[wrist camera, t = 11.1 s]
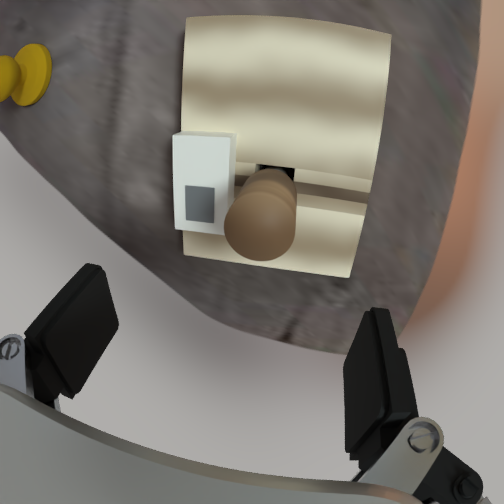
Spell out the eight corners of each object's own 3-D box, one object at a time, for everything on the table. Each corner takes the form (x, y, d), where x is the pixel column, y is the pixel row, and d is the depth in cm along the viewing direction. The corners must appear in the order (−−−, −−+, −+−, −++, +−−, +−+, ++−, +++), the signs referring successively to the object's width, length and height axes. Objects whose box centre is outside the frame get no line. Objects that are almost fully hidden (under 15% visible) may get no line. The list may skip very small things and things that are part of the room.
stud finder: (183, 130, 24) (172, 135, 21) (237, 133, 23) (229, 138, 21) (184, 217, 28) (174, 229, 26) (232, 223, 27) (226, 236, 25)
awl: (255, 150, 27) (224, 192, 16) (300, 155, 26) (299, 200, 16) (252, 192, 29) (222, 256, 18) (295, 197, 28) (290, 265, 18)
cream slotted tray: (198, 23, 21) (186, 17, 19) (382, 40, 19) (391, 34, 17) (193, 240, 32) (183, 254, 30) (345, 261, 31) (348, 278, 28)
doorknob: (17, 47, 23) (56, 40, 22) (12, 105, 27) (49, 104, 26) (-26, 52, 16) (9, 40, 16) (-31, 117, 20) (2, 116, 20)
